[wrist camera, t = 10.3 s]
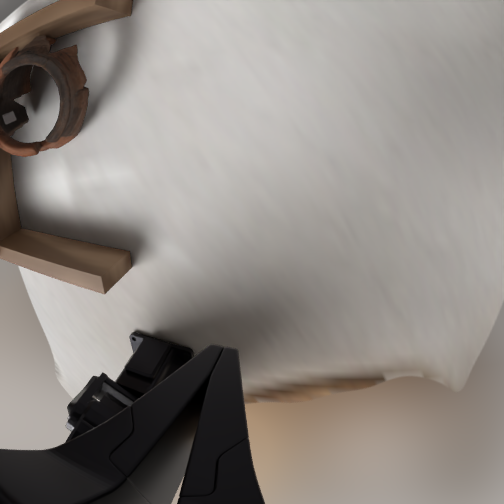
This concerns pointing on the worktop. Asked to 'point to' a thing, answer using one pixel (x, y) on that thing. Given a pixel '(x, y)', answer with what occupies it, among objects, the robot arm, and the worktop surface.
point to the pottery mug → (18, 83)
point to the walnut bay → (3, 193)
